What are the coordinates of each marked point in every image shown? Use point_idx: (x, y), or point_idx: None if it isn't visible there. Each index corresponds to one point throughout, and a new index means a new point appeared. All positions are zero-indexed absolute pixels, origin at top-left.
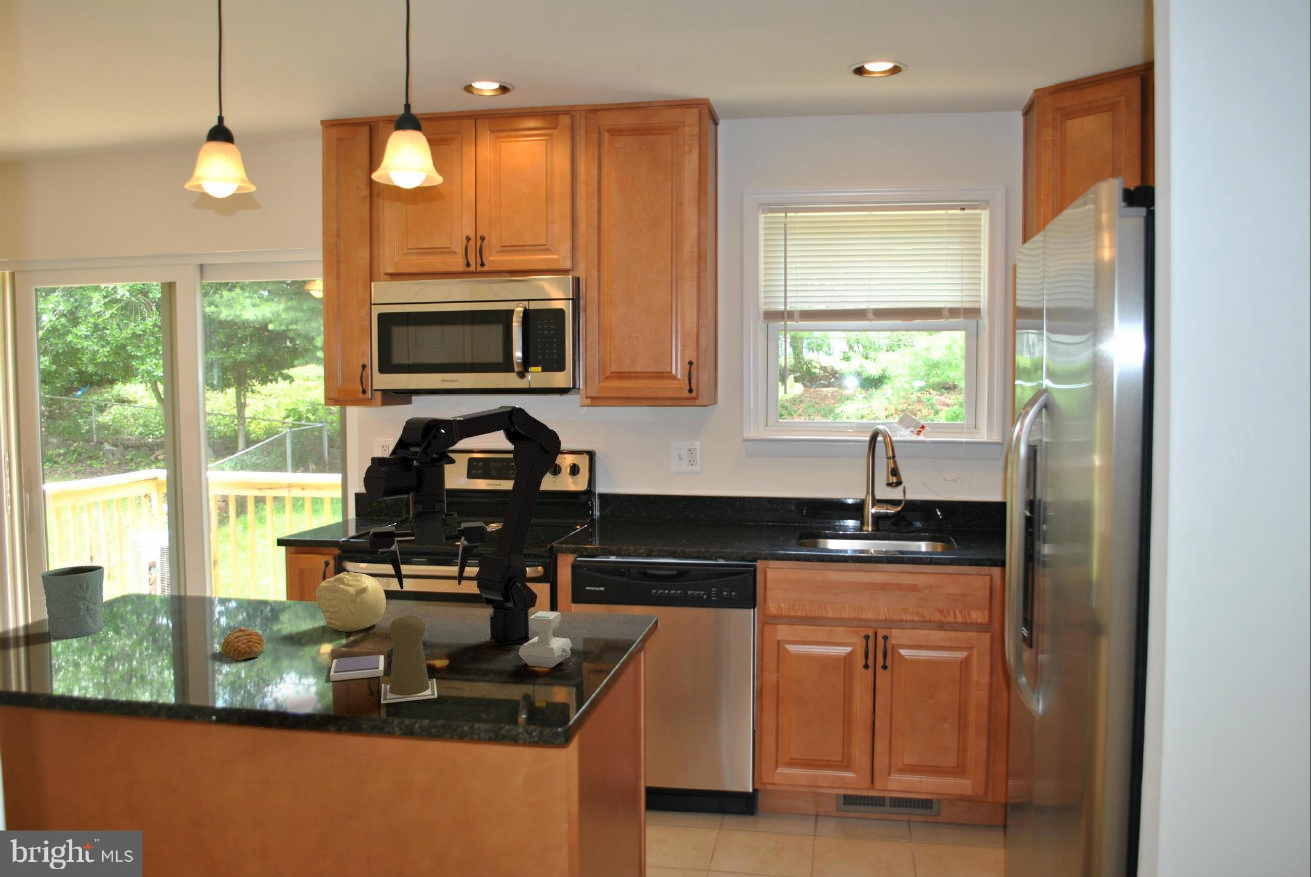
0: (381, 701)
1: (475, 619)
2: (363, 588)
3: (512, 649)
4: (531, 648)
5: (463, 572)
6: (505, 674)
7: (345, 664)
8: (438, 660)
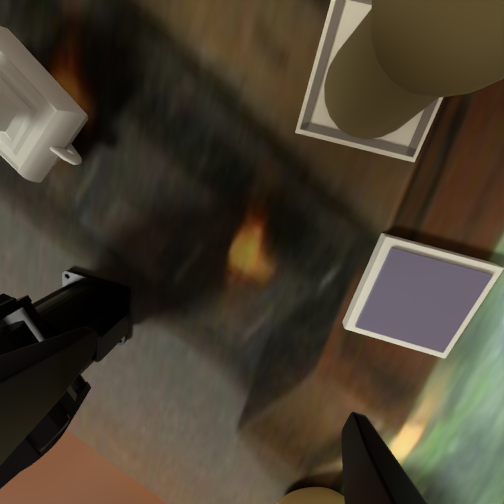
0: None
1: (135, 432)
2: None
3: (104, 252)
4: (44, 84)
5: (2, 356)
6: (144, 92)
7: (447, 307)
8: (247, 267)
